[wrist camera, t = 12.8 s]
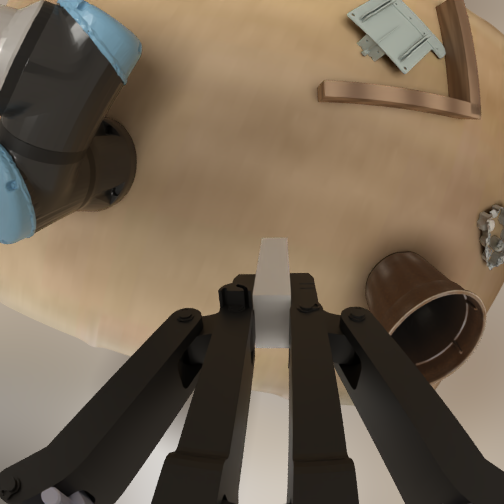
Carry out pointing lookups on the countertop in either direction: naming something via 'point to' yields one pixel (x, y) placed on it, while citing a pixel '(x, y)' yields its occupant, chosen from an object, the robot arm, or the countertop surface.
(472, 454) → the robot arm
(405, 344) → the plant pot
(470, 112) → the wooden corner frame
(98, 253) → the countertop surface
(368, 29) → the metal bracket
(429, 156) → the countertop surface
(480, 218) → the egg carton
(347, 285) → the countertop surface
